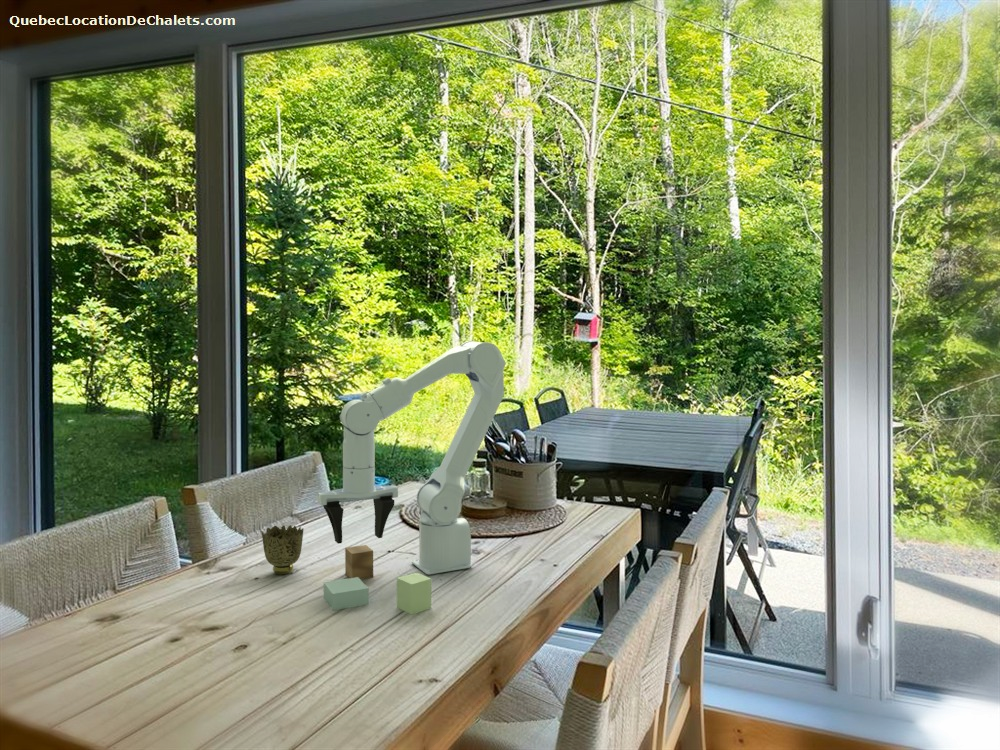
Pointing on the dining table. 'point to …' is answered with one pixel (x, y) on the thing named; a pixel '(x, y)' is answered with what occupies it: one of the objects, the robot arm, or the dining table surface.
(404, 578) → the sage block
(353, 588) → the mint green base block
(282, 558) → the cup
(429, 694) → the dining table surface
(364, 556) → the walnut block
